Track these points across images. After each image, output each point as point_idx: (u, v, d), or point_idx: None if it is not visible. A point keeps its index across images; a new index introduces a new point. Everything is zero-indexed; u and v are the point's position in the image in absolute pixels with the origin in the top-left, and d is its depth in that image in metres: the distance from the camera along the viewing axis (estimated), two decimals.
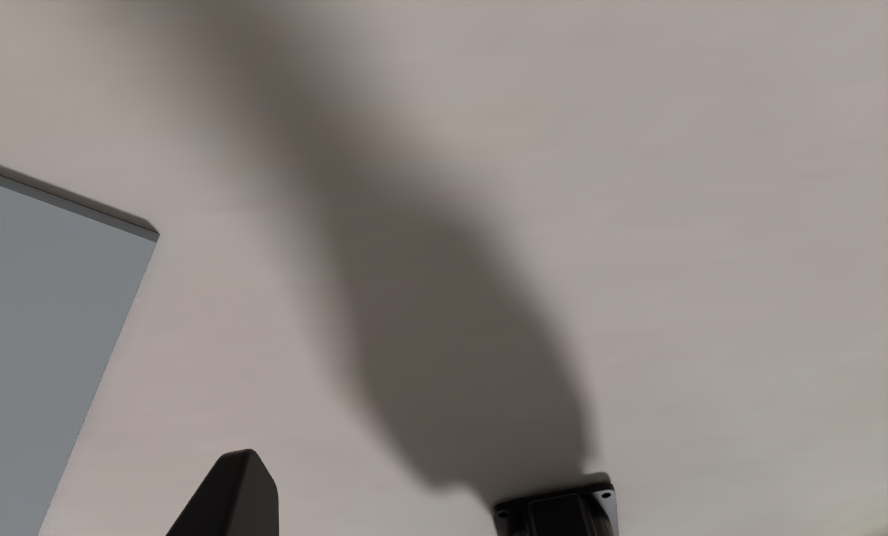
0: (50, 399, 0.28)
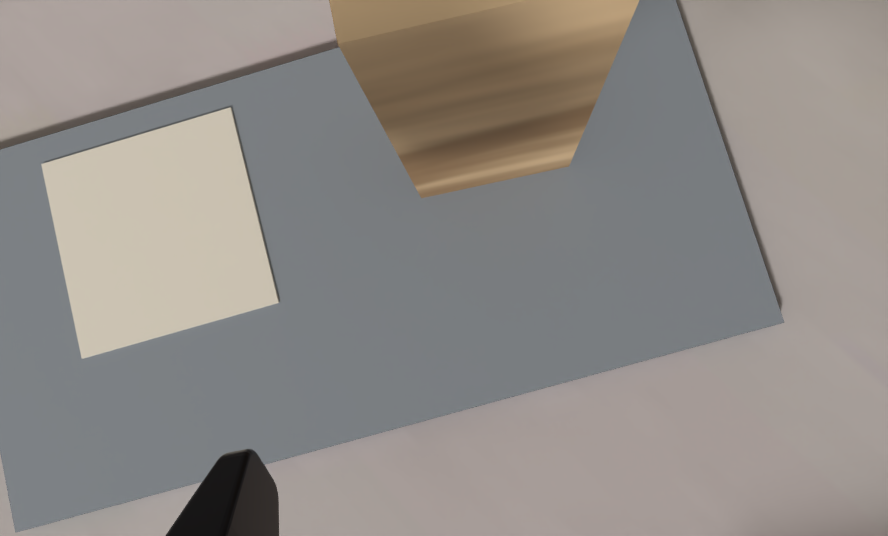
0: (476, 358, 0.22)
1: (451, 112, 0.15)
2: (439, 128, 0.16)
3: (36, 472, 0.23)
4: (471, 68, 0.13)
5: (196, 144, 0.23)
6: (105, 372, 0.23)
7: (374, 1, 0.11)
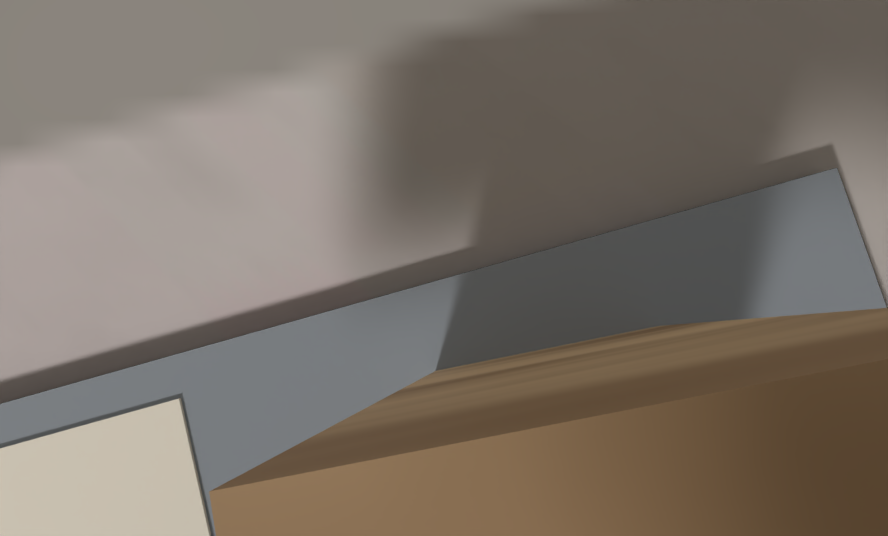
0: None
1: None
2: None
3: None
4: None
5: (126, 456, 0.15)
6: None
7: None
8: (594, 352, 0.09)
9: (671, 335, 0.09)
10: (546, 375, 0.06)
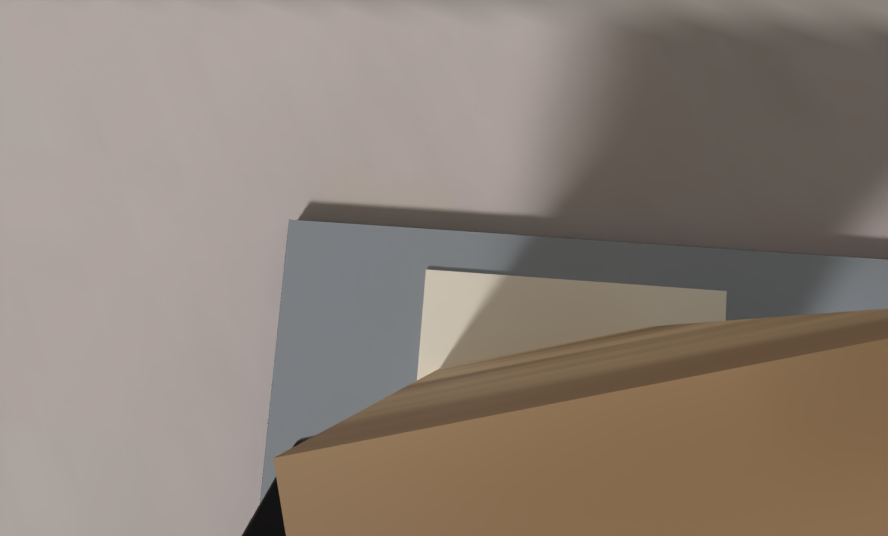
0: None
1: None
2: None
3: None
4: None
5: None
6: None
7: None
8: (586, 351, 0.10)
9: (657, 335, 0.10)
10: (541, 371, 0.07)
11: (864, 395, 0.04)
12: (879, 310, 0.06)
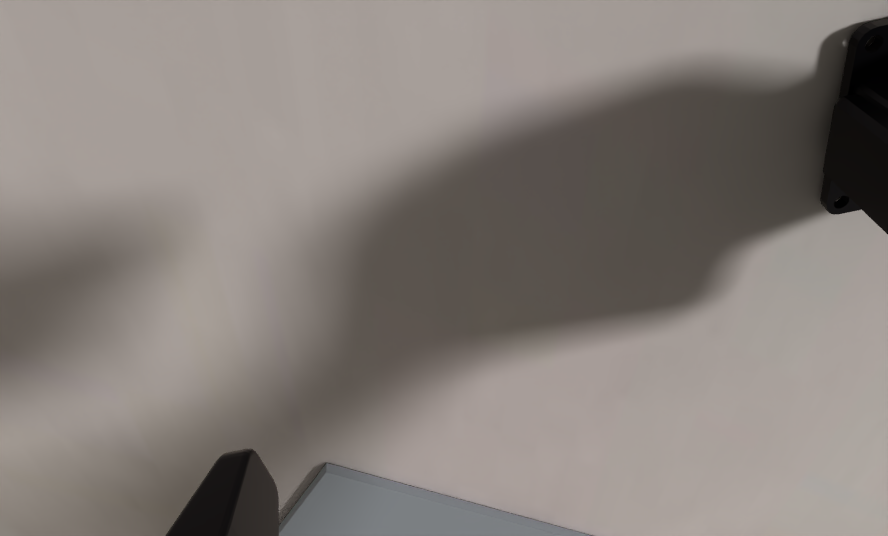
0: None
1: None
2: None
3: None
4: None
5: None
6: None
7: None
8: None
9: None
10: None
11: None
12: None
